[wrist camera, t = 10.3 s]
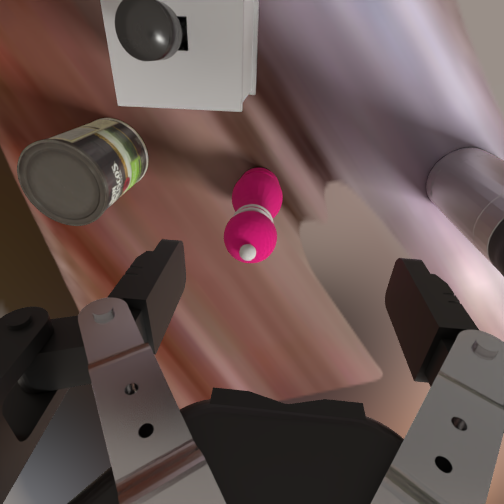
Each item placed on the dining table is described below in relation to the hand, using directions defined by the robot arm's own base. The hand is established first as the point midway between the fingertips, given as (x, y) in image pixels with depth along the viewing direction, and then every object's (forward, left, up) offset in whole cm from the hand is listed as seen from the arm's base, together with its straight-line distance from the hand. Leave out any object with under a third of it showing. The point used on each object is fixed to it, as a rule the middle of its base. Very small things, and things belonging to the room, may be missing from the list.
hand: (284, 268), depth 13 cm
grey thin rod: (+10, -8, -36) cm, 39 cm away
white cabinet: (+10, -10, -38) cm, 40 cm away
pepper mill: (+3, +11, -38) cm, 40 cm away
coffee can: (+25, +7, -38) cm, 46 cm away
